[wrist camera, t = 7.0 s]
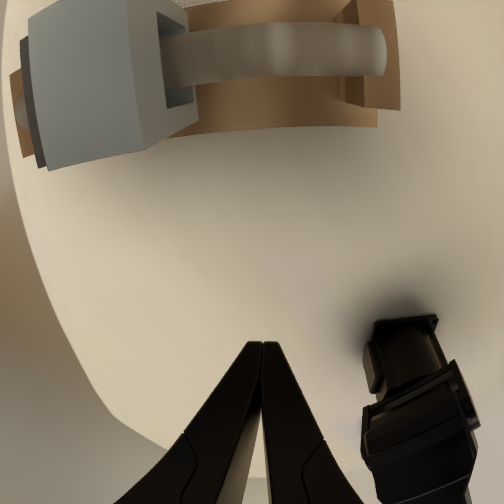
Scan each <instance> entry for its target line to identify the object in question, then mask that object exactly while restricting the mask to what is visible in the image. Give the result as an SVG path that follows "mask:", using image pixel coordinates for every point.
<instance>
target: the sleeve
mask: <svg viewBox="0 0 504 504" xmlns="http://www.w3.org/2000/svg"><path fill="white" fill-rule="evenodd" d="M185 33H189V25H188V14H187V12H186V11H185V10H183V9H182V8H181V7H179V6H178V5H177V4H175V3H174V2H173V1H171V0H59V1H57V2H55V3H54V4H52V5H50V6H48V7H47V8H45V9H43V10H42V11H40V12H38V13H37V14H35V15H33V16H32V17H30V18H29V19H28V39H29V58H30V71H31V81H32V89H33V97H34V104H35V110H36V117H37V122H38V128H39V133H40V138H41V143H42V147H43V152H44V156H45V161H46V165H47V169H48V171H52V170H56V169H59V168H63V167H67V166H71V165H75V164H79V163H83V162H88V161H92V160H97V159H101V158H106V157H111V156H116V155H121V154H126V153H131V152H137V151H143V150H146V149H147V148H149V147H151V146H152V145H154V144H156V143H158V142H159V141H161V140H163V139H165V138H167V137H169V136H170V135H172V134H174V133H176V132H178V131H180V130H182V129H183V128H185V127H187V126H189V125H191V124H193V123H195V122H197V121H199V116H198V108H197V99H196V91H195V85H192V86H186V87H181V88H175V89H170V90H164V82H163V74H162V65H161V56H160V46H159V39H162V38H166V37H171V36H175V35H180V34H185Z"/></svg>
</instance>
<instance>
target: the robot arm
mask: <svg viewBox="0 0 504 504" xmlns="http://www.w3.org/2000/svg"><path fill="white" fill-rule="evenodd" d="M438 321H439V319H438V317H437V315H428V316H420V317H411V318H402V319H392V320H382V321H377V322H375V323H374V325H373V329H372V333H371V337H370V341H368V342H367V344H366V348H365V352H364V355H363V359H362V360H363V367H364V369H365V374H366V378H367V383H368V388H369V392H370V393H371V394H376V399H377V402H376V403H374V404H372V405H367V406H365V407H363V416H362V430H361V447H360V451H361V456H362V459H363V460H364V461H365V464H366V466H367V467H368V469H369V470H370V471H371V472H372V474H373V477H374V482H375V487H376V493H377V498H378V500H379V501H380V502H381V503H382V504H472V501H471V497H470V493H469V488H468V484H469V481H470V477H471V474H472V471H473V467H474V464H475V460H476V456H477V450H478V444H477V441H476V437H475V434H474V431H473V430H475V429H477V428H478V427H480V426H481V425H480V421H479V418H478V415H477V412H476V409H475V406H474V403H473V400H472V397H471V395H470V392H469V390H468V387H467V385H466V382H465V380H464V378H463V376H462V373H461V371H460V369H459V367H458V365H457V363H456V361H455V359H454V360H452V361H450V362H449V364H448V363H447V360H446V358H445V355H444V353H443V351H442V349H441V346H440V344H439V342H438V340H437V338H436V335H435V333H434V331H435V329H436V326H437V324H438ZM379 326H380V327H379ZM261 413H262V428H263V440H264V451H265V463H266V475H267V487H268V498H269V504H364V503H363V502H362V500H361V499H360V497H359V496H358V495H357V493H356V492H355V491H354V489H353V488H352V486H351V485H350V484H349V482H348V480H347V479H346V477H345V476H344V474H343V473H342V471H341V469H340V468H339V466H338V464H337V462H336V460H335V459H334V457H333V455H332V453H331V451H330V449H329V447H328V445H327V443H326V441H325V440H323V439H324V437H323V435H322V433H321V431H320V429H319V427H318V425H317V422H316V420H315V418H314V416H313V414H312V412H311V410H310V408H309V406H308V404H307V402H306V399H305V397H304V395H303V393H302V391H301V389H300V387H299V385H298V383H297V380H296V378H295V376H294V374H293V372H292V370H291V368H290V366H289V363H288V361H287V359H286V357H285V355H284V353H283V351H282V348H281V346H280V344H279V343H278V342H276V341H265V342H264V343H262V342H261V341H248V342H247V343H246V344H245V346H244V347H243V349H242V350H241V352H240V353H239V355H238V356H237V358H236V359H235V360H234V362H233V363H232V365H231V366H230V368H229V369H228V370H227V372H226V373H225V375H224V376H223V378H222V379H221V380H220V382H219V383H218V385H217V386H216V387H215V389H214V390H213V392H212V393H211V394H210V396H209V397H208V399H207V400H206V401H205V403H204V404H203V405H202V407H201V408H200V410H199V411H198V412H197V414H196V415H195V416H194V418H193V419H192V420H191V422H190V423H189V425H188V426H187V427H186V429H185V430H184V433H182V434H181V435H180V436H179V438H178V439H177V440H176V442H175V443H174V444H173V445H172V447H171V448H170V449H169V450H168V452H167V453H166V454H165V455H164V456H163V458H162V459H161V460H160V461H159V462H158V463H157V464H156V465H155V466H154V467H153V468H152V469H151V470H150V471H149V472H148V473H147V474H146V475H145V476H144V477H143V478H142V479H141V480H140V481H138V482H137V483H136V484H135V485H134V486H133V487H132V488H131V489H130V490H129V491H128V492H126V493H125V494H124V495H123V496H122V497H121V498H120V499H119V500H117V501H116V502H115V503H113V504H242V500H243V495H244V491H245V487H246V482H247V478H248V473H249V469H250V464H251V460H252V455H253V450H254V446H255V441H256V436H257V431H258V426H259V421H260V415H261Z"/></svg>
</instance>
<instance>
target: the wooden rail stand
mask: <svg viewBox="0 0 504 504" xmlns="http://www.w3.org/2000/svg"><path fill="white" fill-rule="evenodd" d="M183 10H185V11H186V12H187V14H188V25H189V33H185V34H180V35H175V36H171V37H166V38H162V39H159V46H160V56H161V65H162V74H163V82H164V90H170V89H175V88H181V87H186V86H192V85H195V91H196V99H197V108H198V116H199V121H197V122H195V123H193V124H191V125H189V126H187V127H185V128H183V129H182V130H180V131H178V132H176V133H174V134H172V135H170V136H169V137H167V138H173V137H179V136H187V135H194V134H202V133H211V132H220V131H230V130H241V129H255V128H271V127H294V126H359V127H377V109H389V110H400V70H399V53H398V40H397V30H396V21H395V13H394V5H393V1H391V0H231V1H223V2H216V3H210V4H204V5H198V6H193V7H188V8H183ZM10 85H11V94H12V101H13V108H14V115H15V121H16V126H17V132H18V137H19V142H20V146H21V151H22V155H23V158H25V157H27V156H30V155H33V154H35V153H34V149H33V144H32V139H31V134H30V129H29V124H28V118H27V112H26V105H25V98H24V90H23V82H22V71H21V68H20V69H19V70H17V71H15V72H14V73H12V74H11V75H10ZM165 139H166V138H165Z"/></svg>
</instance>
